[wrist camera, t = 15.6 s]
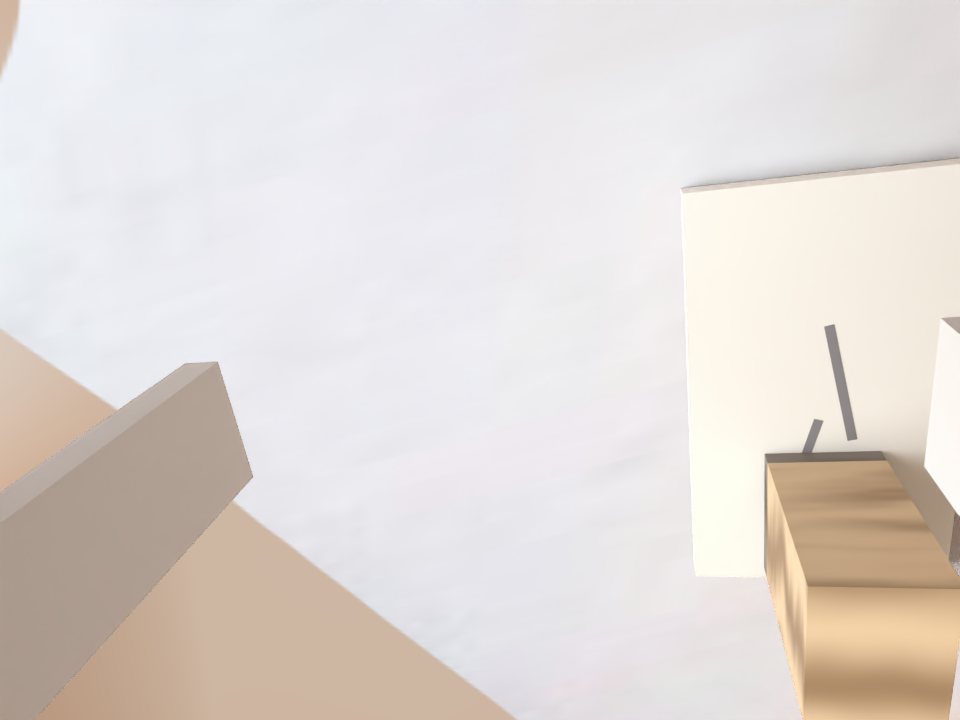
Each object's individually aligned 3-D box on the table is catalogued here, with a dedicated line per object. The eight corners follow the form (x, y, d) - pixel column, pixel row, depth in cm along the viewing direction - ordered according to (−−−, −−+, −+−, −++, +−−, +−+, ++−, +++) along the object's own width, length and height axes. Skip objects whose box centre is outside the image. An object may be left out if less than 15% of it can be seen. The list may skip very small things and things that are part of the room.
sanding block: (764, 453, 40) (807, 586, 30) (881, 451, 38) (966, 589, 28) (763, 566, 43) (803, 721, 33) (872, 568, 41) (946, 730, 31)
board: (680, 188, 36) (682, 193, 35) (987, 155, 33) (1002, 159, 32) (693, 560, 45) (695, 576, 44) (935, 563, 42) (946, 581, 41)
